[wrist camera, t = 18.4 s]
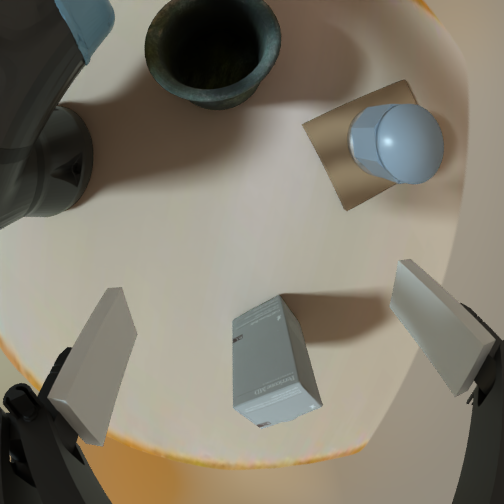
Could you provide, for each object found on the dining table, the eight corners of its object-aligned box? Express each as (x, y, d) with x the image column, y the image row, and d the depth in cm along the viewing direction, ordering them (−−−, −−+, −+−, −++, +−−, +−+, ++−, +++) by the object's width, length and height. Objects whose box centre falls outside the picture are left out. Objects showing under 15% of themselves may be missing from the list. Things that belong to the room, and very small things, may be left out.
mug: (167, 111, 30) (133, 100, 19) (186, 7, 24) (167, -41, 13) (259, 119, 31) (272, 109, 20) (274, 13, 25) (292, -34, 14)
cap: (386, 187, 33) (416, 200, 26) (339, 143, 30) (364, 146, 24) (420, 139, 30) (454, 143, 24) (377, 93, 28) (407, 87, 22)
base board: (301, 124, 31) (303, 124, 30) (401, 80, 29) (405, 79, 28) (344, 209, 36) (346, 211, 35) (433, 159, 33) (437, 160, 32)
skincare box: (279, 292, 40) (301, 375, 25) (302, 325, 42) (328, 407, 28) (228, 320, 41) (227, 407, 26) (254, 350, 44) (262, 433, 29)
